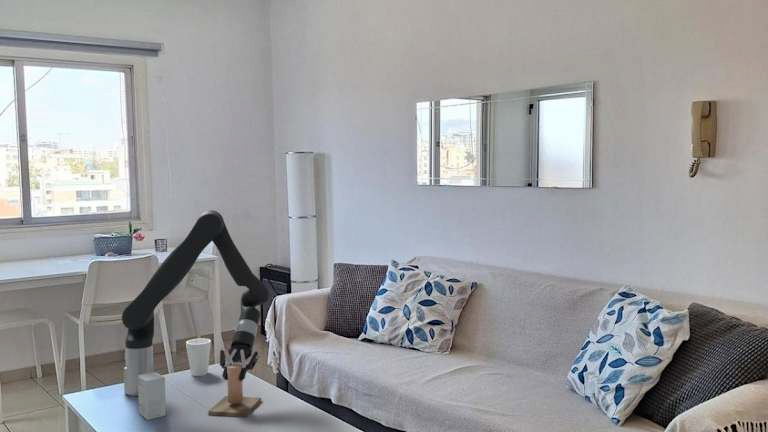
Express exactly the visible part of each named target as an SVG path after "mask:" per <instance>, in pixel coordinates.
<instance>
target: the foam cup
mask: <svg viewBox="0 0 768 432" xmlns="http://www.w3.org/2000/svg"><path fill="white" fill-rule="evenodd" d="M185 345H186V346H185V349H186V351H187V357H188V358H187V359H188V365H189V369H190V370H189V371H190V375H191V376H193V377H202V376H206V375H207V374H208V371H209V364H210V356H211V355H210V354H211V347H212V340H211V339H209V338H203V337H202V338H192V339H189V340H187V341H185Z"/></svg>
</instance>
